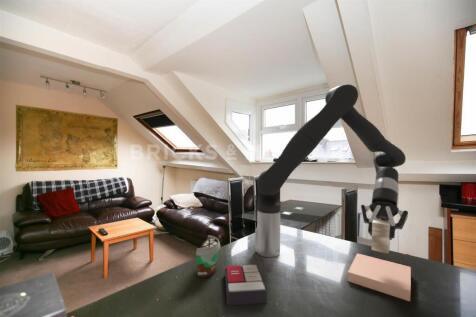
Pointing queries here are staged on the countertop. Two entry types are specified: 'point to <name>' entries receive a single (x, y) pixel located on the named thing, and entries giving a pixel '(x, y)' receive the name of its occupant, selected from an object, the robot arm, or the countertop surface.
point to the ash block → (380, 235)
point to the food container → (208, 257)
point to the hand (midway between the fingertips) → (380, 236)
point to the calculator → (244, 285)
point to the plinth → (381, 276)
